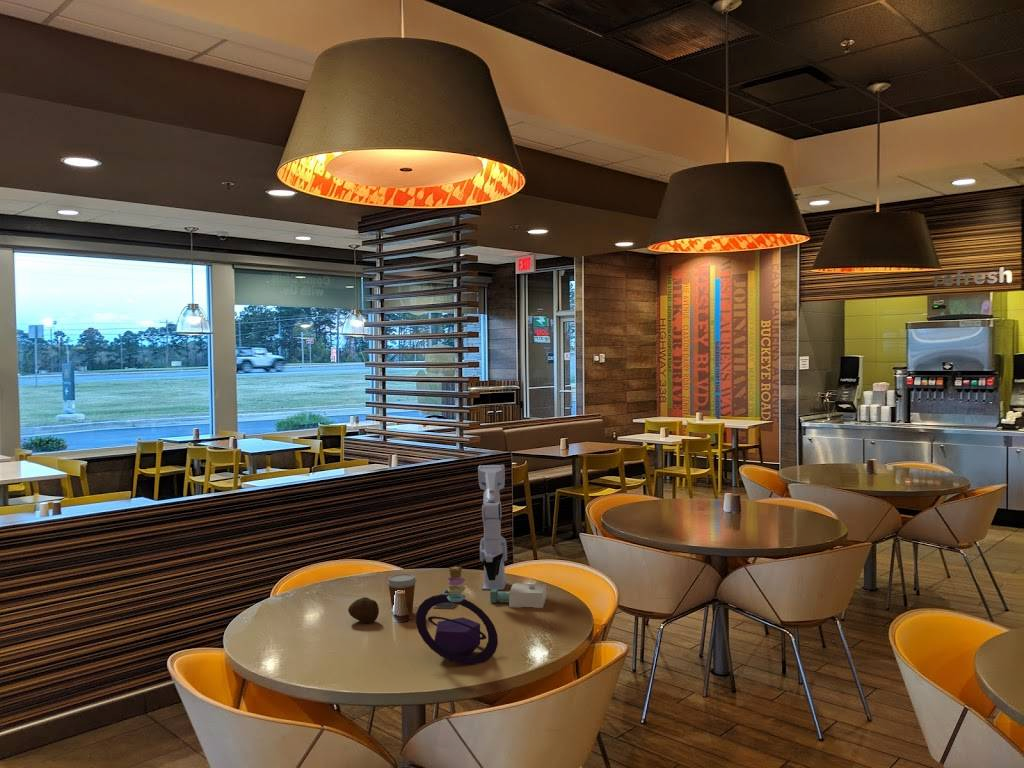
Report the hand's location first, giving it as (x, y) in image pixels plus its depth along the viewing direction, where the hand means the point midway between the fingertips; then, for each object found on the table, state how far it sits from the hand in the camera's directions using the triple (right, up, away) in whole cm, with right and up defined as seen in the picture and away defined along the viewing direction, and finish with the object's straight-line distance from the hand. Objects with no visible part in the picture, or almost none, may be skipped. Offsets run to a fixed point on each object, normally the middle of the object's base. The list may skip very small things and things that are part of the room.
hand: (493, 577), depth 269 cm
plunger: (-15, -8, +6) cm, 18 cm away
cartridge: (+7, -8, -1) cm, 10 cm away
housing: (+11, -8, -1) cm, 14 cm away
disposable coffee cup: (-30, -10, -9) cm, 32 cm away
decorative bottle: (-9, -11, -46) cm, 48 cm away
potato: (-41, -11, -16) cm, 45 cm away
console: (-16, -9, +2) cm, 18 cm away
